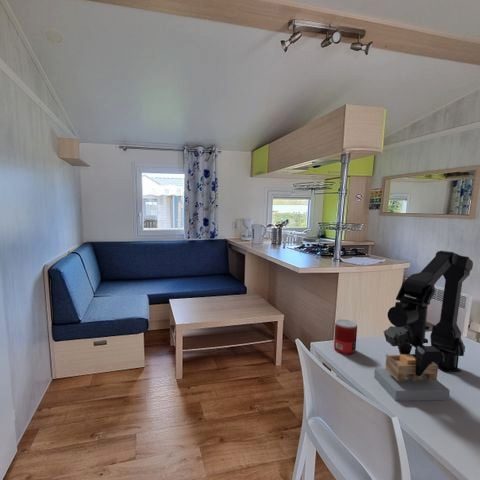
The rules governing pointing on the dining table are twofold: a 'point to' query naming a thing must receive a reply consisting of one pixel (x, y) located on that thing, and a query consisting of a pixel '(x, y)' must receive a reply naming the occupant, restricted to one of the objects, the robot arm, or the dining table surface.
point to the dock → (411, 387)
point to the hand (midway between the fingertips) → (410, 369)
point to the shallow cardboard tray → (408, 369)
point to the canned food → (345, 336)
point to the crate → (407, 359)
